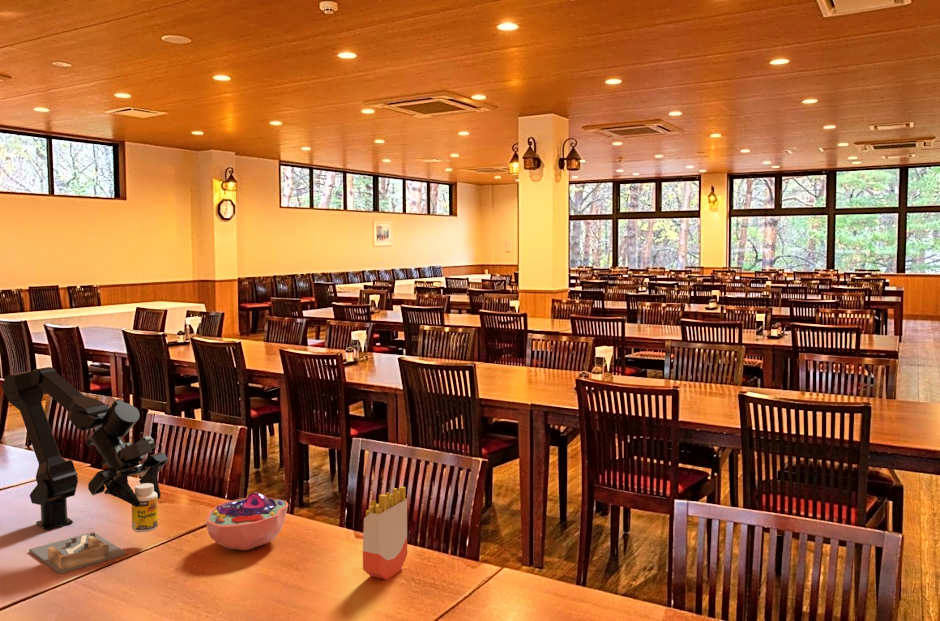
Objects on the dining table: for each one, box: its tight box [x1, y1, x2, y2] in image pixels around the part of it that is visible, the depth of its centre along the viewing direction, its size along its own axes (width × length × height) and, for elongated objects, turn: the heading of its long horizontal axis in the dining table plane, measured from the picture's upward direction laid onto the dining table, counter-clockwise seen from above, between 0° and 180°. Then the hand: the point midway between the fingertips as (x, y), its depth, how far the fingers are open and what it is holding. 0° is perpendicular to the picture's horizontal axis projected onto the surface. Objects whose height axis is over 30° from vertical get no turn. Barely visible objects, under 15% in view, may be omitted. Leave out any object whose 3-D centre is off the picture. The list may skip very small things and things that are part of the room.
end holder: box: [48, 536, 109, 570], centre depth 171 cm, size 8×10×2 cm
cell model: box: [206, 491, 289, 551], centre depth 179 cm, size 17×20×11 cm
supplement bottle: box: [131, 483, 159, 533], centre depth 179 cm, size 6×6×10 cm
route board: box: [28, 531, 127, 575], centre depth 175 cm, size 18×14×2 cm
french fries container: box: [362, 486, 408, 581], centre depth 164 cm, size 5×11×18 cm, turn 154°
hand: (149, 501), depth 178 cm, fingers closed on supplement bottle, 6 cm apart
